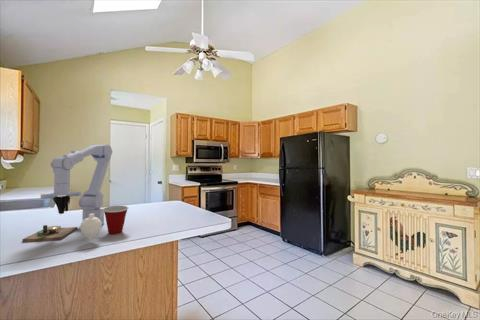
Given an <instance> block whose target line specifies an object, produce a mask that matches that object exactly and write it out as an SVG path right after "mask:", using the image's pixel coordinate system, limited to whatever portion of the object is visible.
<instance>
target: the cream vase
mask: <svg viewBox="0 0 480 320" xmlns="http://www.w3.org/2000/svg"><path fill="white" fill-rule="evenodd" d="M102 225H103V224H102V222H101V220H100V219H99V218H97V217H94V214H89V218H86V219H84V220H83V222H82V221H81V223H80V225H79V227H80V231H81V233H82V234H83V235H84V236H85V238H86V239H87V240H89V241H90V243H92V241H93V240H94V239H95V238H96V236H97V235H98V234H99V232H100V230H101V229H102Z"/></svg>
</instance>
